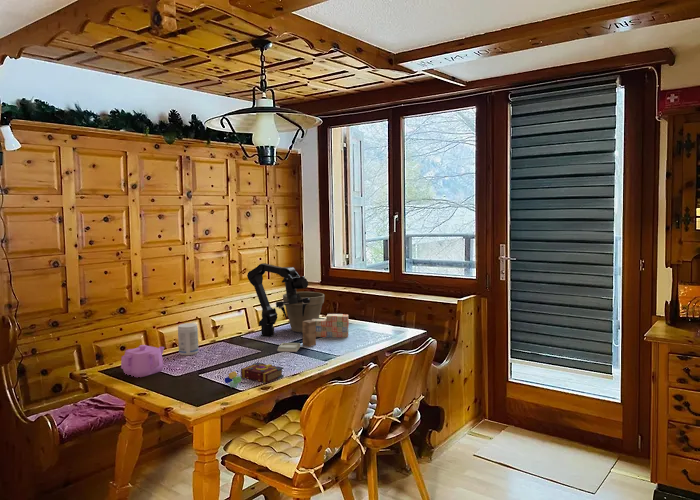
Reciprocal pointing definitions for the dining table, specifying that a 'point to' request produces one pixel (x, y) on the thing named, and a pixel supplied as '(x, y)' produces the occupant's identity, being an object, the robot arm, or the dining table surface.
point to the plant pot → (310, 310)
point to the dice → (233, 377)
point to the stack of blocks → (332, 326)
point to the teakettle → (142, 361)
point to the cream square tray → (289, 347)
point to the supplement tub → (188, 339)
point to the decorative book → (262, 372)
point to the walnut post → (309, 333)
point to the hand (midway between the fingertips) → (294, 317)
